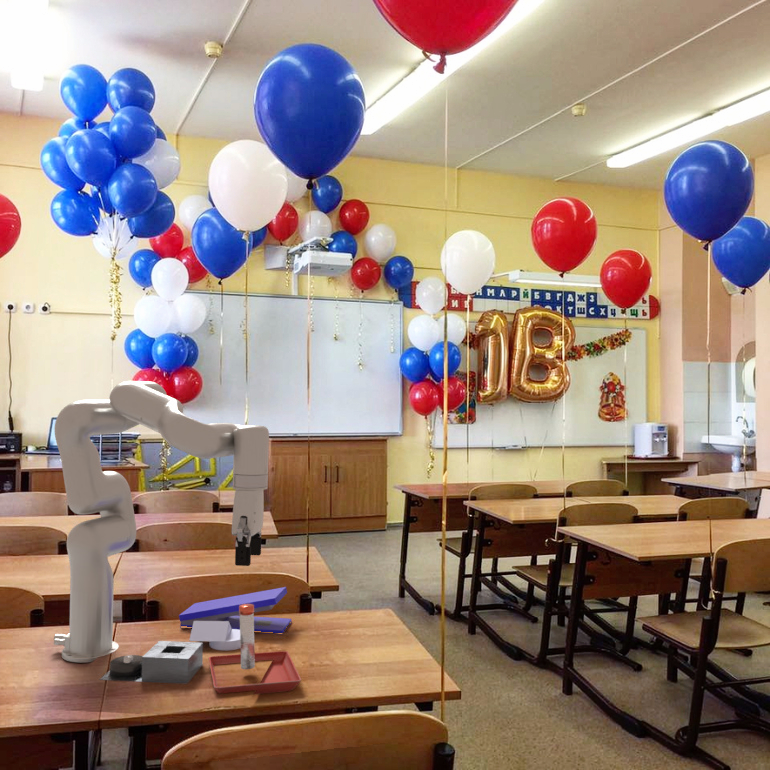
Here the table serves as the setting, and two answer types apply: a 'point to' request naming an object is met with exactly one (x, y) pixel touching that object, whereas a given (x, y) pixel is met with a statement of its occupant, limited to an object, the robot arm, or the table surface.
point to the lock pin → (247, 636)
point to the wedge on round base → (216, 634)
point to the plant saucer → (274, 680)
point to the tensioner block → (159, 664)
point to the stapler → (230, 608)
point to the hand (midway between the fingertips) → (248, 560)
